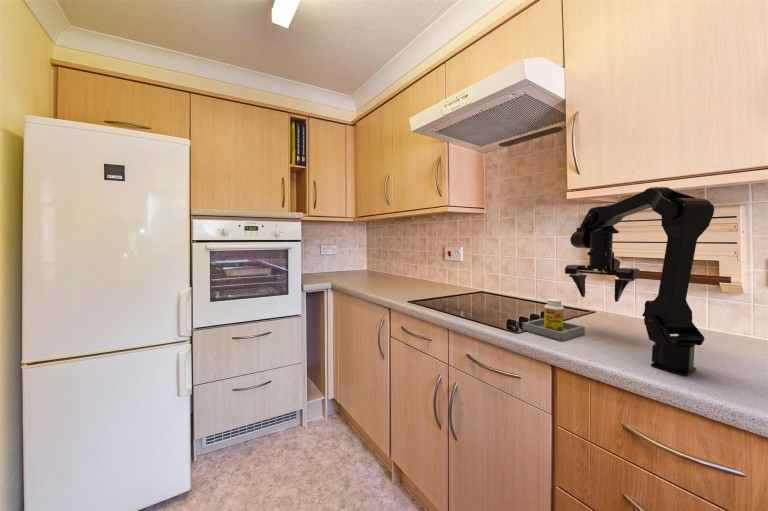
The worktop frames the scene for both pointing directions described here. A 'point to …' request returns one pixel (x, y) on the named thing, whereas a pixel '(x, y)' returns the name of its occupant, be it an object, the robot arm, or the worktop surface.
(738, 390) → the worktop surface
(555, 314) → the supplement bottle
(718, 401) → the worktop surface
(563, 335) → the tray
